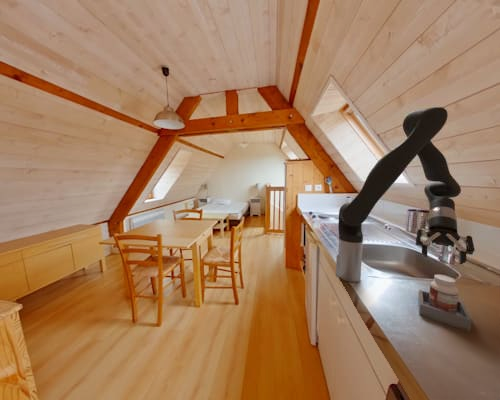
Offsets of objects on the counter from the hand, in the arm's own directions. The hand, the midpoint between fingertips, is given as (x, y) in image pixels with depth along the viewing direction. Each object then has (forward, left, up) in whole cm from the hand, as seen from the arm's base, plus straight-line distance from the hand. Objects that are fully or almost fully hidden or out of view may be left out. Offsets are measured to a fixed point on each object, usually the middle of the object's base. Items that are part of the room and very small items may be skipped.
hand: (442, 259), depth 63 cm
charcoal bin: (0, -7, -16) cm, 17 cm away
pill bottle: (0, -7, -15) cm, 17 cm away
